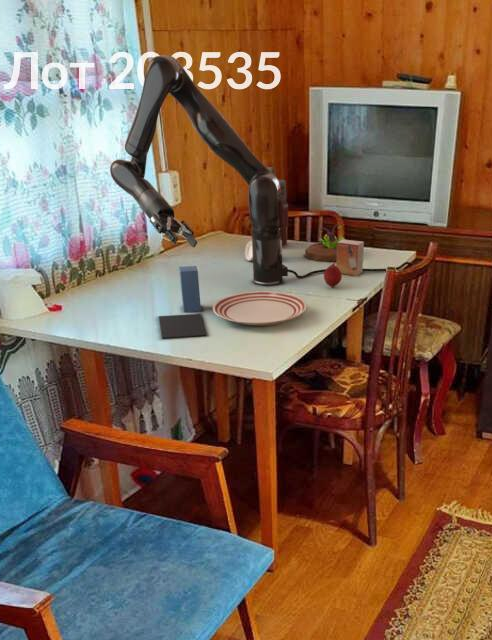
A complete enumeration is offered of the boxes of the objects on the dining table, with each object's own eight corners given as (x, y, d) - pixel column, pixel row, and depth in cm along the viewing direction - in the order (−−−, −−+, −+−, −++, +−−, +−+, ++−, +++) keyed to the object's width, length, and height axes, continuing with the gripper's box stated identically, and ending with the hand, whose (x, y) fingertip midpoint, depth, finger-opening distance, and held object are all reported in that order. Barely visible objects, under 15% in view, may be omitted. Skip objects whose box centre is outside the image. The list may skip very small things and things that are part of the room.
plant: (349, 264, 268) (350, 232, 261) (299, 259, 273) (299, 227, 266) (365, 251, 283) (366, 221, 277) (317, 246, 288) (318, 216, 282)
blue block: (199, 306, 225) (196, 265, 218) (201, 311, 221) (197, 270, 214) (182, 307, 224) (179, 266, 217) (184, 312, 220) (180, 271, 213)
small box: (335, 273, 258) (336, 242, 252) (341, 269, 262) (342, 238, 256) (357, 276, 255) (358, 244, 249) (362, 272, 260) (364, 241, 254)
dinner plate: (270, 338, 202) (270, 326, 201) (194, 319, 214) (193, 308, 212) (324, 312, 222) (324, 301, 220) (251, 296, 234) (251, 285, 232)
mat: (200, 315, 218) (200, 313, 218) (206, 336, 203) (206, 334, 203) (158, 317, 215) (158, 316, 215) (162, 338, 201) (161, 337, 201)
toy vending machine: (283, 249, 283) (282, 170, 268) (257, 246, 286) (254, 168, 271) (292, 244, 291) (291, 166, 275) (266, 241, 294) (264, 164, 278)
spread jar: (285, 259, 272) (284, 226, 266) (266, 265, 264) (265, 231, 258) (259, 254, 277) (258, 221, 271) (240, 260, 269) (238, 227, 263)
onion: (339, 290, 241) (339, 265, 236) (322, 289, 242) (322, 264, 237) (342, 285, 245) (343, 261, 241) (325, 284, 246) (326, 259, 242)
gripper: (145, 193, 222) (175, 230, 219) (178, 201, 234) (207, 236, 230) (133, 214, 226) (163, 250, 222) (166, 221, 238) (195, 255, 234)
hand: (185, 243), depth 226 cm, fingers open, 8 cm apart
